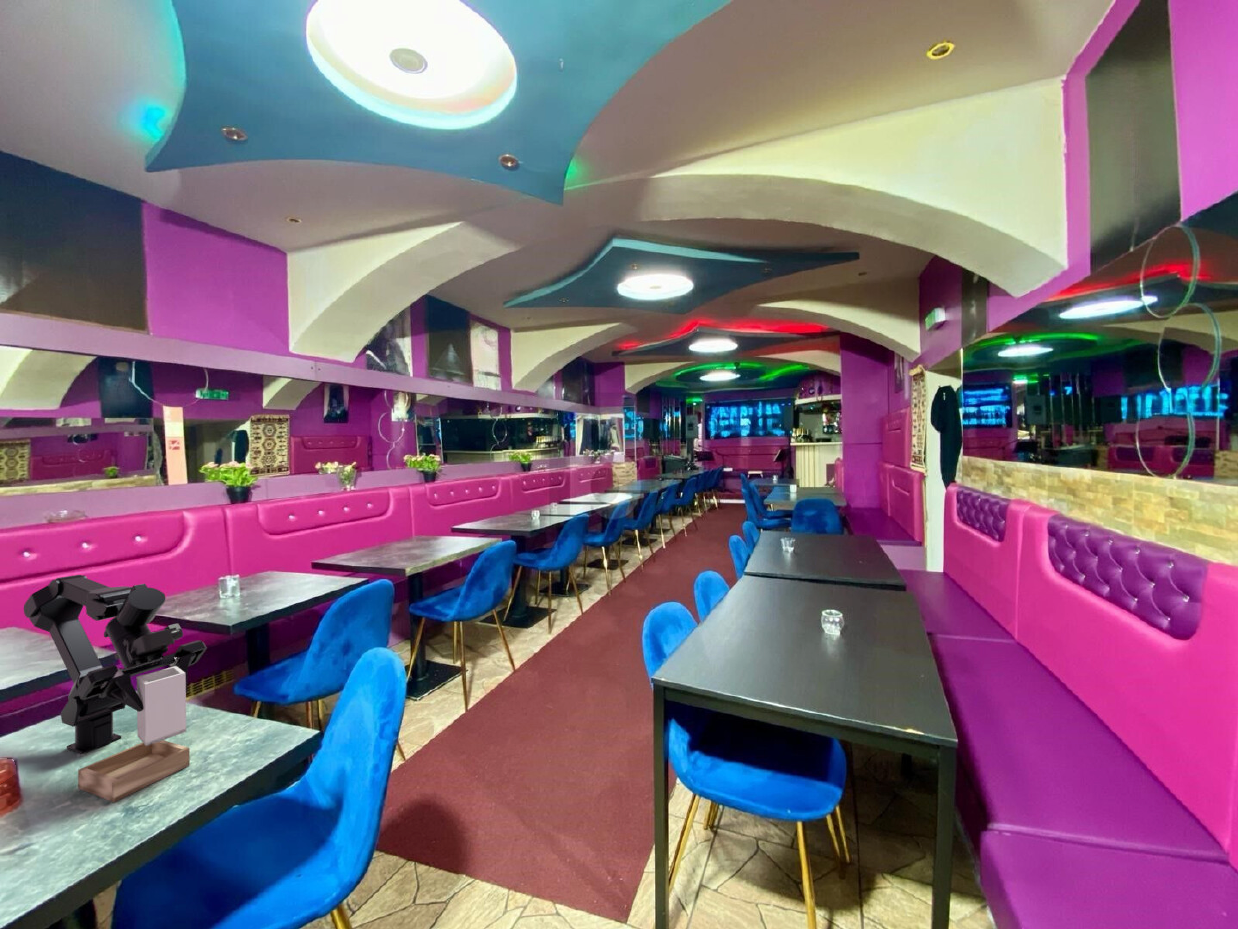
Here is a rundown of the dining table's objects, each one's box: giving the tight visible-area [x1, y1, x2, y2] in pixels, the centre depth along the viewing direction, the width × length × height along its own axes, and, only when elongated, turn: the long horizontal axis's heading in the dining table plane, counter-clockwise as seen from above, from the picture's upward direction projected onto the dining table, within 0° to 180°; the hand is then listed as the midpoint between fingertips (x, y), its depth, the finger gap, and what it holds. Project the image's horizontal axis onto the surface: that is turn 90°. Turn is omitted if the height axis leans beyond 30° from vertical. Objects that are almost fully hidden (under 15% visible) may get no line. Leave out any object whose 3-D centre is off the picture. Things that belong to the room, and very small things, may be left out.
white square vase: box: [136, 666, 187, 746], centre depth 98 cm, size 6×6×12 cm
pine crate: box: [77, 739, 191, 803], centre depth 95 cm, size 12×12×4 cm
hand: (164, 701), depth 98 cm, fingers closed on white square vase, 7 cm apart
